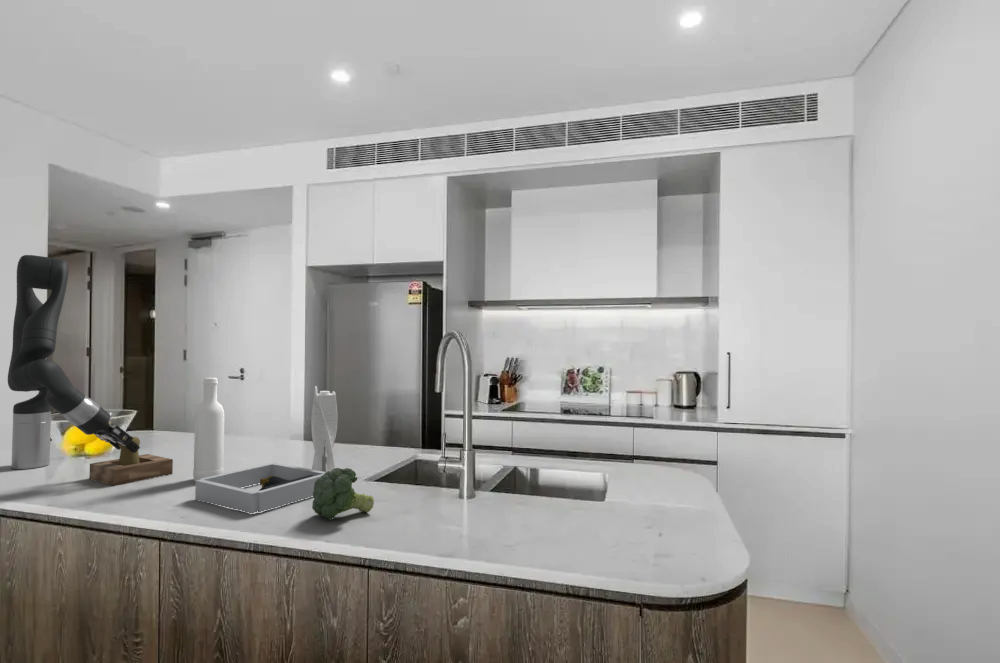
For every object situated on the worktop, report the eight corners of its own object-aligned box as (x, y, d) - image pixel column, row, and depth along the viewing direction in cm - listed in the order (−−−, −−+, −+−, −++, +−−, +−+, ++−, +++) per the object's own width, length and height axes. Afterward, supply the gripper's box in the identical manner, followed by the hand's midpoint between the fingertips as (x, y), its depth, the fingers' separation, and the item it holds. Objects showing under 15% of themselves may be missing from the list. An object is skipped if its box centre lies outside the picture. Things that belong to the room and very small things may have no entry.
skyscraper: (301, 482, 158) (303, 386, 158) (320, 475, 165) (322, 384, 166) (324, 485, 155) (326, 387, 155) (343, 478, 162) (344, 385, 163)
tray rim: (193, 499, 139) (193, 480, 139) (273, 479, 160) (273, 462, 161) (254, 515, 127) (254, 494, 128) (331, 491, 149) (332, 473, 149)
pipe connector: (241, 481, 139) (289, 469, 152) (241, 501, 139) (289, 488, 152) (271, 488, 133) (318, 475, 147) (270, 510, 133) (318, 495, 146)
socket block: (89, 479, 158) (89, 463, 158) (147, 468, 172) (147, 454, 172) (114, 485, 151) (114, 469, 151) (172, 474, 165) (172, 459, 165)
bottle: (227, 479, 160) (229, 378, 160) (198, 484, 154) (201, 379, 154) (217, 474, 165) (219, 376, 166) (189, 479, 159) (191, 377, 160)
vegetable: (383, 512, 124) (324, 491, 118) (354, 542, 129) (295, 523, 122) (385, 471, 134) (330, 450, 127) (357, 500, 139) (303, 481, 132)
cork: (132, 476, 157) (132, 439, 157) (111, 476, 157) (111, 438, 157) (145, 471, 163) (146, 435, 163) (126, 471, 163) (126, 435, 163)
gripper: (109, 405, 150) (152, 440, 160) (84, 402, 157) (126, 436, 167) (87, 427, 145) (132, 462, 155) (62, 422, 152) (106, 456, 162)
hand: (129, 448), depth 161 cm, fingers open, 8 cm apart
